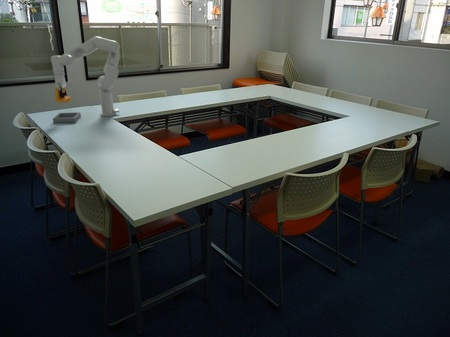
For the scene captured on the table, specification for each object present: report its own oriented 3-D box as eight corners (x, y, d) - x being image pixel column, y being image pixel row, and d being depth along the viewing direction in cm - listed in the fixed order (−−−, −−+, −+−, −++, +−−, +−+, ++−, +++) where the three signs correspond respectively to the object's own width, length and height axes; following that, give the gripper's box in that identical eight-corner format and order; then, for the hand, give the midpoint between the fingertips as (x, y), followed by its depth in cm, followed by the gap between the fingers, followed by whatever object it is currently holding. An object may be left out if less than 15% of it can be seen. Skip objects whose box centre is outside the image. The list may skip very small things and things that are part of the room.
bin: (81, 117, 295) (80, 112, 294) (75, 122, 280) (74, 117, 279) (60, 117, 294) (59, 112, 292) (53, 123, 279) (52, 118, 277)
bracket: (65, 103, 276) (62, 87, 271) (56, 103, 276) (53, 87, 271) (71, 100, 286) (69, 84, 281) (62, 99, 286) (60, 84, 281)
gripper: (57, 71, 279) (61, 94, 287) (50, 74, 264) (54, 99, 271) (67, 70, 280) (71, 94, 288) (60, 74, 265) (65, 99, 272)
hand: (63, 96), depth 279 cm, fingers closed on bracket, 5 cm apart
